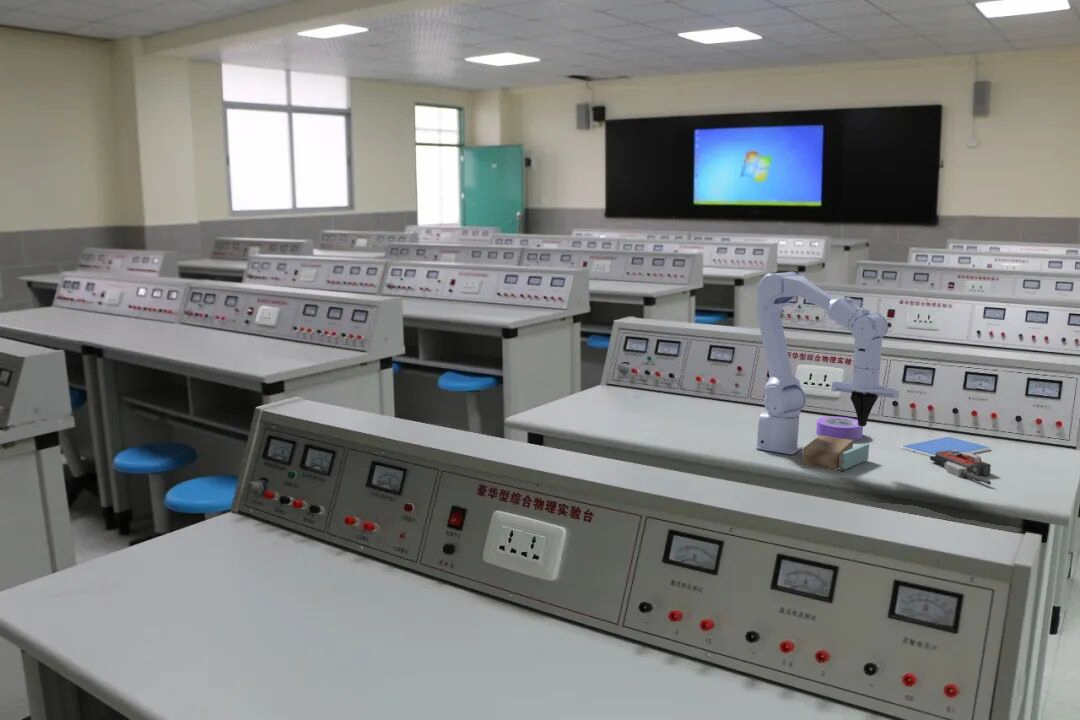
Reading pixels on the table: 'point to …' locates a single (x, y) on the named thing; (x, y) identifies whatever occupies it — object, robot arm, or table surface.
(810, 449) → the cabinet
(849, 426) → the masking tape
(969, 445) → the tablet computer
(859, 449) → the pale teal rectangular panel
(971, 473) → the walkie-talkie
